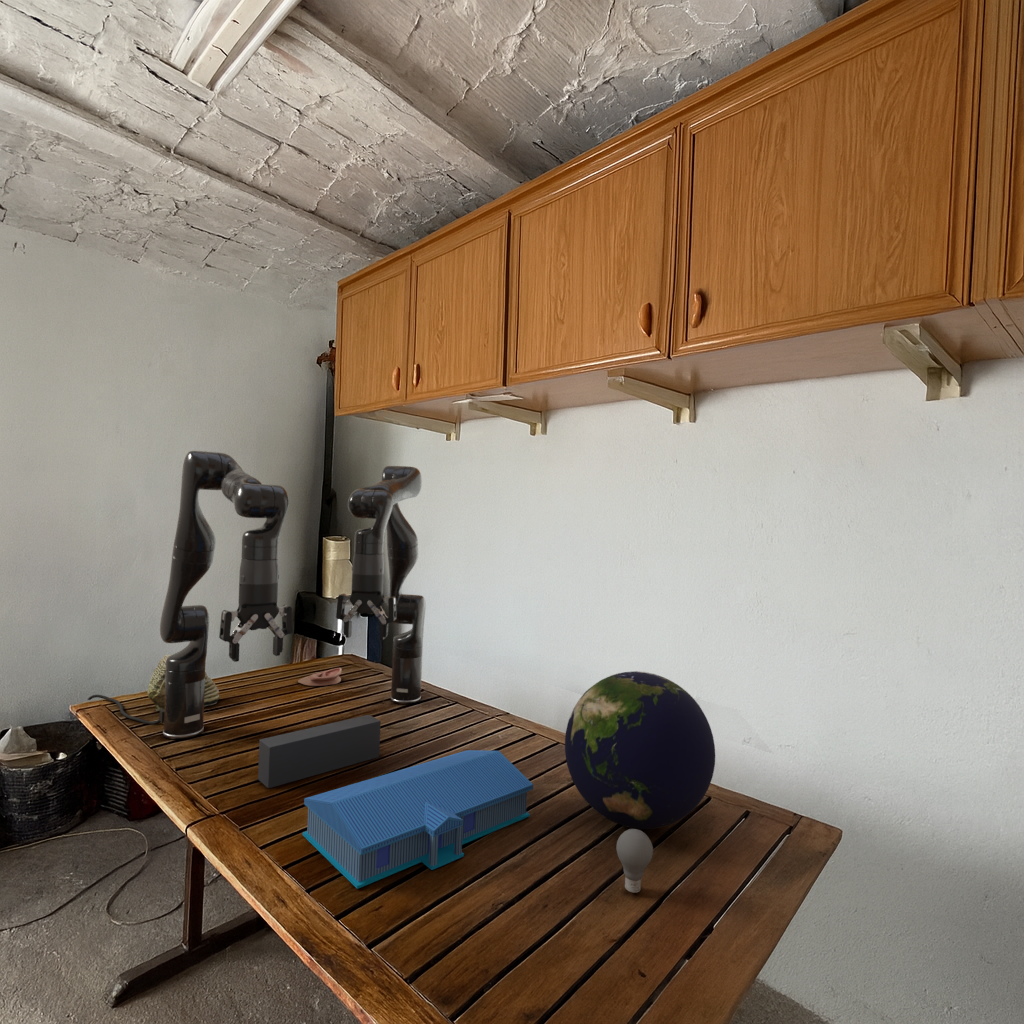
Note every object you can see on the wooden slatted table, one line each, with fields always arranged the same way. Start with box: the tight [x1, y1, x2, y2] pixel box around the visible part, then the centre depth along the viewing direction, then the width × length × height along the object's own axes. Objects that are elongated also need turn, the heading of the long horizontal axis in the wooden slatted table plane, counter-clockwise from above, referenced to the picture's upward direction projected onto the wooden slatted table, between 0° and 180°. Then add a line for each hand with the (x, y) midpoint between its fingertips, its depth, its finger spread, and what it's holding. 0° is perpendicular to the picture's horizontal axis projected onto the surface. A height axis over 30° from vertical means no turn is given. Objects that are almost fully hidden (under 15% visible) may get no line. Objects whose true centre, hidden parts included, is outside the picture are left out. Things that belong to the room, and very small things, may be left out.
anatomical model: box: [297, 667, 343, 687], centre depth 214 cm, size 13×4×12 cm
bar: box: [257, 714, 382, 789], centre depth 148 cm, size 28×6×9 cm, turn 134°
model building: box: [302, 749, 534, 890], centre depth 123 cm, size 39×24×10 cm, turn 132°
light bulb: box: [615, 828, 654, 894], centre depth 106 cm, size 6×6×10 cm
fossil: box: [147, 654, 221, 712], centre depth 185 cm, size 9×18×15 cm, turn 132°
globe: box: [564, 670, 716, 830], centre depth 129 cm, size 30×30×30 cm
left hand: (256, 657), depth 132 cm, fingers open, 8 cm apart
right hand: (365, 638), depth 154 cm, fingers open, 8 cm apart
